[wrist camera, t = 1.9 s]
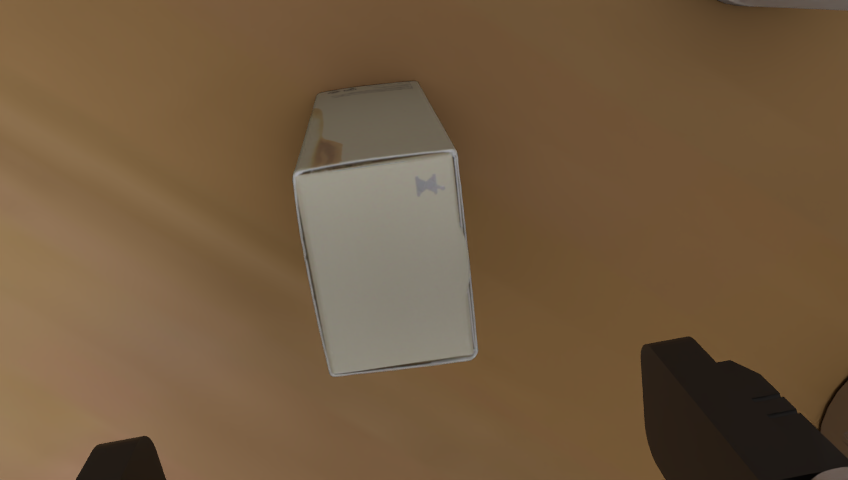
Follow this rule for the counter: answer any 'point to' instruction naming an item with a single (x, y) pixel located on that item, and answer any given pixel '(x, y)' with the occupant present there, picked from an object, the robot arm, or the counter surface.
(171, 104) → the counter surface
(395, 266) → the skincare box
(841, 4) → the travel mug
